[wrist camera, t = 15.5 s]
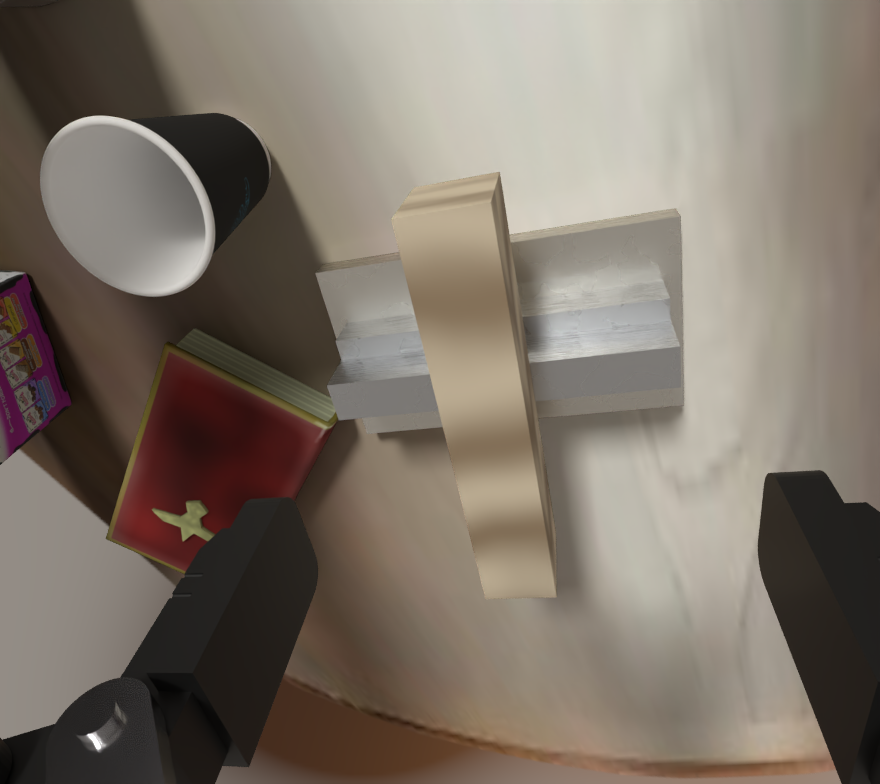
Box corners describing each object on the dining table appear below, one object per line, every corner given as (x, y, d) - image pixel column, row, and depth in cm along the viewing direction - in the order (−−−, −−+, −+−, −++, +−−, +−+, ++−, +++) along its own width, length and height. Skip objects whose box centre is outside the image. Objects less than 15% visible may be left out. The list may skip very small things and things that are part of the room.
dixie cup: (305, 229, 38) (228, 302, 29) (184, 225, 39) (72, 294, 30) (287, 85, 34) (190, 117, 25) (151, 85, 35) (10, 115, 26)
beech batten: (414, 187, 29) (391, 219, 25) (499, 171, 28) (490, 201, 24) (492, 536, 40) (485, 599, 36) (555, 533, 39) (556, 597, 35)
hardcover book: (349, 397, 45) (332, 431, 42) (259, 564, 56) (239, 602, 53) (193, 317, 43) (162, 346, 40) (132, 506, 55) (103, 541, 51)
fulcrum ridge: (372, 421, 45) (345, 484, 39) (322, 264, 39) (283, 310, 34) (679, 392, 40) (701, 459, 35) (675, 208, 35) (701, 251, 29)
